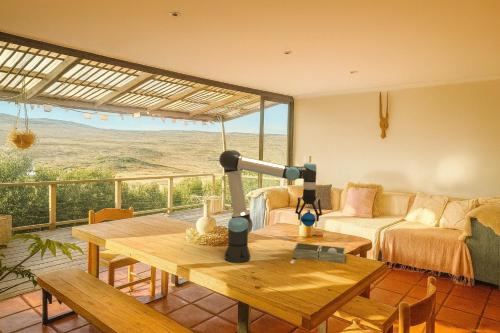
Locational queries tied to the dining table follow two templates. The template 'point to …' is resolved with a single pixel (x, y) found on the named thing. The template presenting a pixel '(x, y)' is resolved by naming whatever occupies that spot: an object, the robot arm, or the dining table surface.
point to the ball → (332, 250)
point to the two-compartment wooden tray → (318, 253)
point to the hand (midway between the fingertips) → (308, 225)
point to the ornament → (308, 219)
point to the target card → (293, 261)
